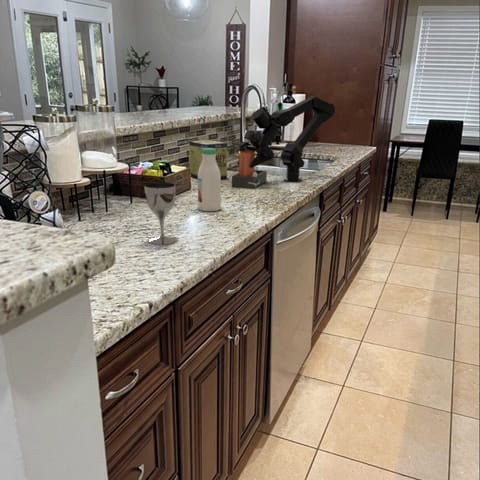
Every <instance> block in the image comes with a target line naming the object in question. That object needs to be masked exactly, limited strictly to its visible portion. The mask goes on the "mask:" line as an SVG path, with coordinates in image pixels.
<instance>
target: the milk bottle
mask: <svg viewBox="0 0 480 480" xmlns="http://www.w3.org/2000/svg"><path fill="white" fill-rule="evenodd" d="M202 156H203V159H202V163H201V166H200V168H199V171H198V178H197V205H198V207H197V208H198V210H200V211H204V212H216V211H220V210H221V208H222V180H221V176H220V170H219V168H218V165H217V163H216V159H215V156H216V149H214V148H203V149H202Z"/></svg>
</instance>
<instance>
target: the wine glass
mask: <svg viewBox="0 0 480 480" xmlns="http://www.w3.org/2000/svg"><path fill="white" fill-rule="evenodd" d="M144 197H145V200H146V204H147V207H148V208H149V210H150V211H151V212H152V213H153V214H154V215H155V216H156V217H157V219H158V223H159V227H160V236H156V237H152V238H150V239H149V243H151V244H154V245H169V244H174V243H175V242H177V239H176V238H175V237H171V236H165V232H164V228H165V219H166V217H167V215H168V214H169V213H170V212H171V211H172V210H173V207H174V205H175V201H176V184H175V183H171V182H149V183H146V184H145V185H144Z"/></svg>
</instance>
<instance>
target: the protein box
mask: <svg viewBox="0 0 480 480" xmlns="http://www.w3.org/2000/svg"><path fill="white" fill-rule="evenodd" d="M188 146H189V147H188V148H189V152H188V153H189V171H190V170H191V176H190V177H192V178H196V179H198V171H199V168H200V166H201V163H202V159H203V156H202V149H203V148H214V149H216V156H215V159H216V163H217V165H218V168H219V170H220V176H221V181H222V180H228V143H227V142H221V141H215V140H209V139H206V140H190V141H188Z"/></svg>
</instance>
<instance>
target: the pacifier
mask: <svg viewBox="0 0 480 480" xmlns="http://www.w3.org/2000/svg"><path fill="white" fill-rule="evenodd" d="M252 177H257V173H256V172H254V173H253V175H252ZM248 183H249V184H254V185H255V188H257V187H256V185H259V184H260V181H259V180H258V183H257V184H255V183H251V182H248ZM259 186H260V185H259Z"/></svg>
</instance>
